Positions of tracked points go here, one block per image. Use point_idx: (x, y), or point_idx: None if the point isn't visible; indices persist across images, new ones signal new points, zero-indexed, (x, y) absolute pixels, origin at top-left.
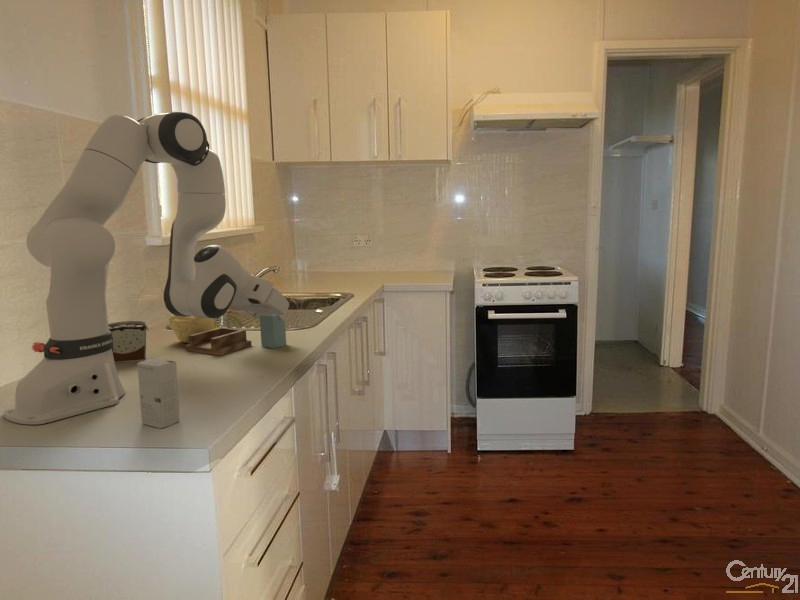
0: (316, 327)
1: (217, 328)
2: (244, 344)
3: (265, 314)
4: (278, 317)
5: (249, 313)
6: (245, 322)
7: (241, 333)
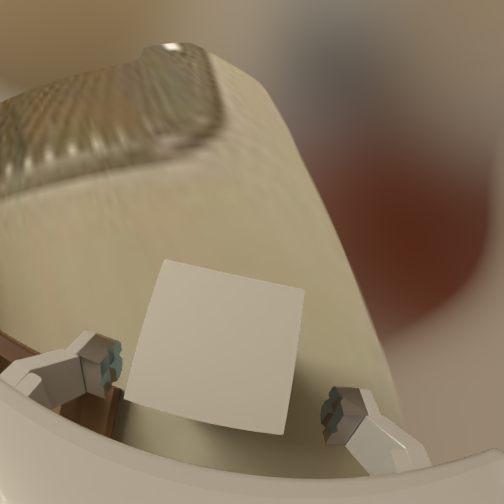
0: (235, 125)
1: None
2: (108, 425)
3: (200, 419)
4: (342, 443)
5: (59, 404)
6: (30, 128)
7: (67, 402)
